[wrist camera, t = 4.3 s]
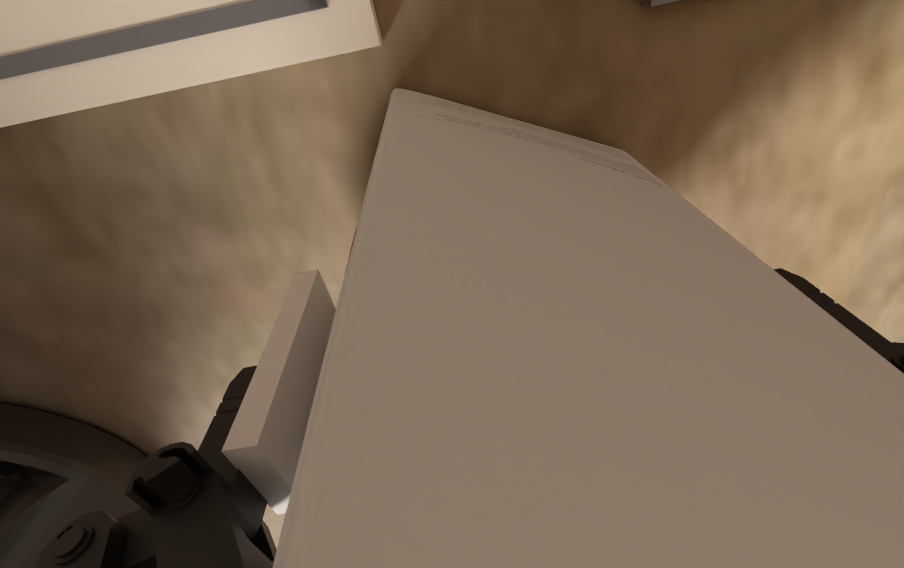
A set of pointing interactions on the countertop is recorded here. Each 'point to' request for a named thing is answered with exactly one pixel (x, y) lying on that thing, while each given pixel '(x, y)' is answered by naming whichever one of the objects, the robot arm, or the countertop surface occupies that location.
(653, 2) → the ink pad
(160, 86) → the board
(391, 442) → the supplement box
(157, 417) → the countertop surface
